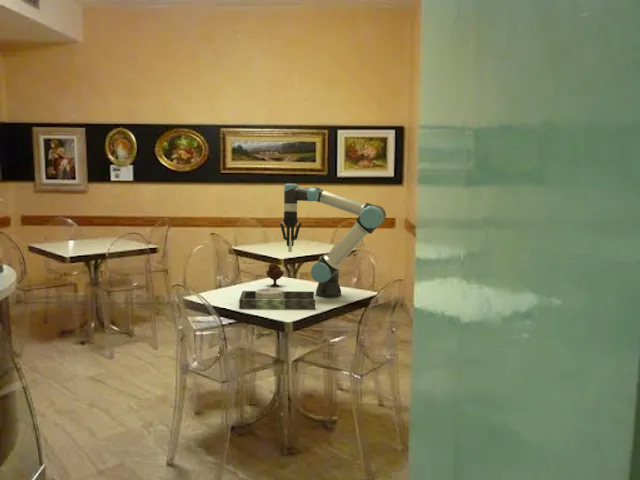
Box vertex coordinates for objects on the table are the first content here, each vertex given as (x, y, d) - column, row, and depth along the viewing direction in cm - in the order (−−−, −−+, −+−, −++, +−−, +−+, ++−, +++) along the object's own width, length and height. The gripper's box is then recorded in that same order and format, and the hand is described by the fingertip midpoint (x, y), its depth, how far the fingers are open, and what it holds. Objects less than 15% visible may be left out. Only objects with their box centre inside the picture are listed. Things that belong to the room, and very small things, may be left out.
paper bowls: (265, 300, 324) (265, 286, 323) (288, 303, 316) (288, 289, 316) (249, 305, 310) (249, 291, 309) (273, 309, 303) (273, 294, 302)
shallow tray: (313, 300, 326) (313, 291, 325) (315, 309, 304) (315, 300, 304) (242, 299, 324) (242, 290, 323) (239, 308, 302) (239, 299, 302)
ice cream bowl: (283, 288, 358) (283, 264, 356) (265, 287, 358) (265, 263, 356) (284, 284, 369) (284, 261, 367) (266, 284, 369) (267, 261, 367)
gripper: (281, 211, 322) (280, 253, 325) (303, 211, 326) (302, 252, 329) (277, 210, 329) (277, 251, 332) (299, 210, 333) (299, 250, 336)
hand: (290, 251), depth 330 cm, fingers closed
